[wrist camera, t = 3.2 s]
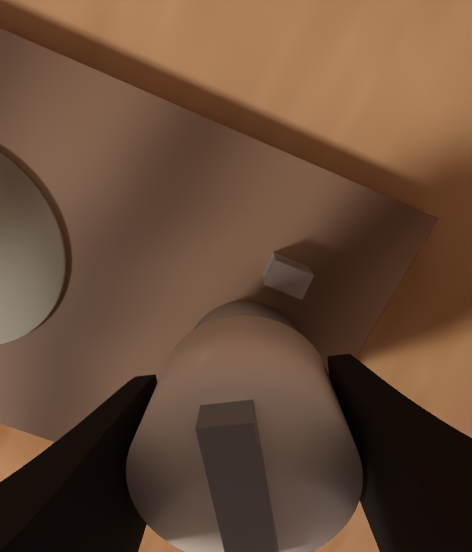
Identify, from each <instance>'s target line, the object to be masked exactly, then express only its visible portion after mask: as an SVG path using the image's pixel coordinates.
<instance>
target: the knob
mask: <svg viewBox="0 0 472 552" xmlns="http://www.w3.org/2000/svg"><path fill="white" fill-rule="evenodd" d="M126 481H127V486H128V490H129V494H130V497H131V499H132V501H133V504H134V506H135V507H136V509H137V511H138V512H139V514H140V516H141V517H142V518H143V519H144V521H145V522H146V523H147V524H148V526H149V527H150V528H151V529H152V530H154V531H155V532H156V533H157V534H158V535H159V536H160V537H162V538H163V539H164V540H166V541H167V542H168V543H170V544H172V545H173V546H175V547H177V548H178V549H180V550H182V551H184V552H312V551H314V550H316V549H318V548H319V547H321V546H323V545H324V544H326V543H327V542H328V541H330V540H331V539H332V538H334V537H335V536H336V535H337V534H338V533H339V532H340V531H341V530H342V529H343V528H344V526H345V525H346V524H347V523H348V521H349V520H350V518H351V517H352V515H353V513H354V512H355V510H356V508H357V505H358V502H359V500H360V497H361V492H362V487H363V471H362V464H361V460H360V457H359V454H358V450H357V448H356V445H355V442H354V440H353V437H352V435H351V432H350V429H349V427H348V424H347V422H346V419H345V416H344V414H343V411H342V409H341V406H340V403H339V401H338V398H337V396H336V393H335V390H334V388H333V385H332V383H331V380H330V377H329V375H328V372H327V370H326V367H325V364H324V362H323V360H322V358H321V356H320V354H319V353H318V352H317V350H316V349H315V347H314V346H313V345H312V344H311V343H310V342H309V341H308V340H307V339H306V338H305V337H304V336H303V335H301V334H300V333H299V332H298V331H296V330H294V329H293V328H291V327H289V326H288V325H285V324H283V323H281V322H279V321H276V320H273V319H269V318H266V317H260V316H252V315H237V316H228V317H223V318H219V319H216V320H212V321H209V322H207V323H205V324H203V325H201V326H199V327H197V328H196V329H194V330H193V331H191V332H190V333H189V334H187V335H186V336H185V337H184V338H183V339H182V340H181V341H180V342H179V343H178V344H177V345H176V346H175V348H174V349H173V351H172V353H171V354H170V356H169V358H168V360H167V363H166V365H165V367H164V369H163V372H162V374H161V376H160V379H159V381H158V383H157V386H156V388H155V390H154V393H153V395H152V397H151V399H150V402H149V404H148V406H147V409H146V411H145V413H144V416H143V418H142V420H141V423H140V425H139V427H138V430H137V432H136V434H135V437H134V439H133V441H132V443H131V446H130V449H129V452H128V456H127V462H126Z"/></svg>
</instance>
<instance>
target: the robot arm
mask: <svg viewBox="0 0 472 552" xmlns="http://www.w3.org/2000/svg"><path fill="white" fill-rule="evenodd" d="M327 359H328V372H329V377H330V380H331V383H332V385H333V388H334V390H335V393H336V396H337V398H338V401H339V403H340V406H341V409H342V411H343V414H344V416H345V419H346V422H347V424H348V427H349V429H350V432H351V435H352V437H353V440H354V442H355V445H356V448H357V450H358V454H359V457H360V460H361V464H362V471H363V487H362V492H361V497H360V502H361V505H362V507H363V510H364V512H365V515H366V517H367V520H368V522H369V525H370V527H371V530H372V533H373V535H374V538H375V540H376V543H377V545H378V548H379V551H380V552H472V438H470V437H469V436H467V435H465V434H463V433H462V432H460V431H458V430H456V429H455V428H453V427H451V426H450V425H448V424H446V423H445V422H443V421H442V420H440V419H439V418H437V417H436V416H434V415H432V414H431V413H429V412H428V411H426V410H425V409H423V408H422V407H420V406H419V405H417V404H416V403H414V402H413V401H411V400H410V399H408V398H407V397H406V396H404V395H403V394H401V393H400V392H399V391H397V390H396V389H395V388H393V387H392V386H390V385H389V384H388V383H386V382H385V381H384V380H383V379H381V378H380V377H379V376H377V375H376V374H375V373H374V372H372V371H371V370H370V369H369V368H367V367H366V366H365V365H363V364H362V363H361V362H360V361H358V360H357V359H356V358H355V357H353V356H352V355H351V354H342V355H333V356H327ZM157 383H158V382H157V378H156V374H154V375H144V376H135V377H134V378H133V379H131V380H130V381H128V382H127V383H126V384H125V385H123V386H122V387H121V388H120V389H119V390H117V391H116V392H115V393H114V394H113V395H112V396H110V397H109V398H108V399H107V400H106V401H105V402H103V403H102V404H101V405H100V406H99V407H98V408H96V409H95V410H94V411H93V412H92V413H90V414H89V415H88V416H87V417H86V418H85V419H83V420H82V421H81V422H80V423H79V424H77V425H76V426H75V427H74V428H72V429H71V430H70V431H69V432H67V433H66V434H65V435H64V436H62V437H61V438H60V439H59V440H57V441H56V442H55V443H53V444H52V445H51V446H50V447H48V448H47V449H46V450H45V451H43V452H42V453H41V454H39V455H38V456H37V457H35V458H34V459H33V460H31V461H30V462H29V463H27V464H26V465H24V466H23V467H22V468H20V469H19V470H17V471H16V472H14V473H13V474H12V475H10V476H9V477H7V478H6V479H4V480H3V481H1V482H0V552H138V550H139V547H140V544H141V541H142V537H143V534H144V531H145V528H146V525H147V523H146V522H145V521H144V519H143V518H142V517H141V516H140V514H139V512H138V511H137V509H136V507H135V506H134V504H133V501H132V499H131V497H130V494H129V490H128V486H127V481H126V462H127V456H128V452H129V449H130V446H131V443H132V441H133V439H134V437H135V434H136V432H137V430H138V427H139V425H140V423H141V420H142V418H143V416H144V413H145V411H146V409H147V406H148V404H149V402H150V399H151V397H152V395H153V393H154V390H155V388H156V386H157Z"/></svg>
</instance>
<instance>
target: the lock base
mask: <svg viewBox="0 0 472 552" xmlns="http://www.w3.org/2000/svg"><path fill="white" fill-rule="evenodd" d="M437 220H438V218H436V217H433V216H431V215H429V214H426V213H424V212H422V211H420V210H417V209H415V208H413V207H410V206H408V205H406V204H403V203H401V202H399V201H397V200H394V199H392V198H390V197H387V196H385V195H383V194H380V193H378V192H376V191H374V190H371V189H369V188H367V187H364V186H362V185H360V184H357V183H355V182H353V181H351V180H348V179H346V178H344V177H341V176H339V175H337V174H334V173H332V172H330V171H328V170H325V169H323V168H321V167H318V166H316V165H314V164H312V163H309V162H307V161H305V160H302V159H300V158H298V157H295V156H293V155H291V154H289V153H286V152H284V151H282V150H279V149H277V148H275V147H272V146H270V145H268V144H266V143H263V142H261V141H259V140H256V139H254V138H252V137H249V136H247V135H245V134H243V133H240V132H238V131H236V130H233V129H231V128H229V127H226V126H224V125H222V124H220V123H217V122H215V121H213V120H210V119H208V118H206V117H203V116H201V115H199V114H197V113H194V112H192V111H190V110H187V109H185V108H183V107H180V106H178V105H176V104H174V103H171V102H169V101H167V100H164V99H162V98H160V97H157V96H155V95H153V94H151V93H148V92H146V91H144V90H141V89H139V88H137V87H134V86H132V85H130V84H128V83H125V82H123V81H121V80H118V79H116V78H114V77H111V76H109V75H107V74H105V73H102V72H100V71H98V70H95V69H93V68H91V67H89V66H86V65H84V64H82V63H79V62H77V61H75V60H72V59H70V58H68V57H66V56H63V55H61V54H59V53H56V52H54V51H52V50H49V49H47V48H45V47H43V46H40V45H38V44H36V43H33V42H31V41H29V40H26V39H24V38H22V37H20V36H17V35H15V34H13V33H10V32H8V31H6V30H3V29H1V28H0V423H1V424H4V425H7V426H10V427H13V428H16V429H18V430H21V431H24V432H27V433H30V434H33V435H36V436H39V437H42V438H45V439H48V440H51V441H54V442H56V441H57V440H59V439H60V438H61V437H62V436H64V435H65V434H66V433H67V432H69V431H70V430H71V429H72V428H74V427H75V426H76V425H77V424H79V423H80V422H81V421H82V420H83V419H85V418H86V417H87V416H88V415H89V414H90V413H92V412H93V411H94V410H95V409H96V408H98V407H99V406H100V405H101V404H102V403H103V402H105V401H106V400H107V399H108V398H109V397H110V396H112V395H113V394H114V393H115V392H116V391H117V390H119V389H120V388H121V387H122V386H123V385H125V384H126V383H127V382H128V381H130V380H131V379H133V378H134V377H135V376H144V375H154V374H156V378H157V382H158V381H159V379H160V376H161V374H162V372H163V369H164V367H165V365H166V363H167V360H168V358H169V356H170V354H171V353H172V351H173V349H174V348H175V346H176V345H177V344H178V343H179V342H180V341H181V340H182V339H183V338H184V337H185V336H186V335H187V334H189V333H190V332H191V331H193V330H194V329H196V328H197V327H199V326H201V325H203V324H205V323H207V322H209V321H212V320H216V319H219V318H223V317H228V316H237V315H252V316H260V317H266V318H269V319H273V320H276V321H279V322H281V323H283V324H285V325H288V326H289V327H291V328H293V329H294V330H296V331H298V332H299V333H300V334H301V335H303V336H304V337H305V338H306V339H307V340H308V341H309V342H310V343H311V344H312V345H313V346H314V347H315V349H316V350H317V352H318V353H319V354H320V356H321V358H322V360H323V362H324V364H325V367H326V370H327V372H328V359H327V356H333V355H342V354H351V355H352V356H353V357H355V358H356V357H357V355H358V353H359V351H360V350H361V348H362V346H363V345H364V343H365V341H366V340H367V338H368V336H369V335H370V333H371V331H372V330H373V328H374V326H375V325H376V323H377V321H378V319H379V318H380V316H381V314H382V313H383V311H384V309H385V308H386V306H387V304H388V303H389V301H390V299H391V298H392V296H393V294H394V293H395V291H396V289H397V288H398V286H399V284H400V282H401V281H402V279H403V277H404V276H405V274H406V272H407V271H408V269H409V267H410V266H411V264H412V262H413V261H414V259H415V257H416V256H417V254H418V252H419V250H420V249H421V247H422V245H423V244H424V242H425V240H426V239H427V237H428V235H429V234H430V232H431V230H432V229H433V227H434V225H435V224H436V222H437ZM328 375H329V372H328Z"/></svg>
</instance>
